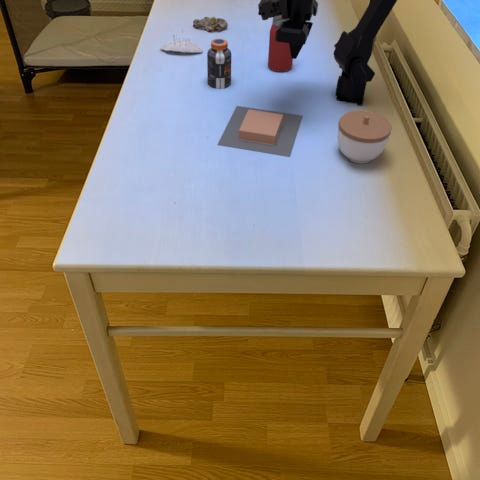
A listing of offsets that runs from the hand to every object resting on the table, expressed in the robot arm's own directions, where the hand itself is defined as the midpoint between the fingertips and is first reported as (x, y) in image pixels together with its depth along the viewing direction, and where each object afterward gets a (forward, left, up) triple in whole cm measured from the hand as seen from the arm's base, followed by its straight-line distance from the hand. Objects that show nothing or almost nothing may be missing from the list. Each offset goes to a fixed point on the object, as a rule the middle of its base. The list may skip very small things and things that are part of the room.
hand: (293, 58), depth 115 cm
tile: (+4, +9, -10) cm, 14 cm away
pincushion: (+34, -21, -12) cm, 42 cm away
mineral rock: (+31, -39, -12) cm, 51 cm away
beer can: (+6, -19, -12) cm, 23 cm away
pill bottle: (+19, -5, -12) cm, 23 cm away
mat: (+4, +13, -12) cm, 18 cm away
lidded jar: (-18, +16, -12) cm, 27 cm away
